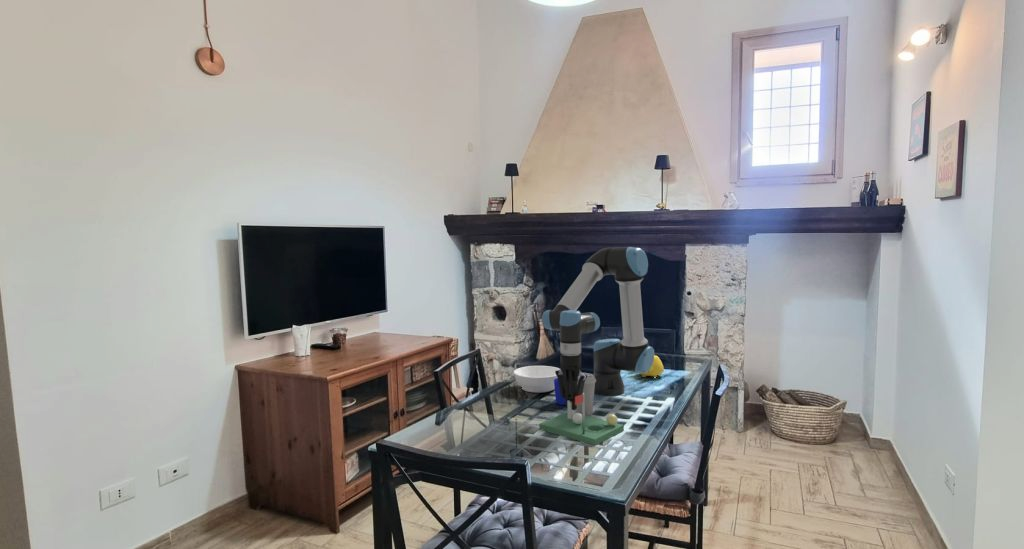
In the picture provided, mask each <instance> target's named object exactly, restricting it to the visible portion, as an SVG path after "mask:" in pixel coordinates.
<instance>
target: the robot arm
mask: <svg viewBox="0 0 1024 549" xmlns="http://www.w3.org/2000/svg"><path fill="white" fill-rule="evenodd" d="M648 268H649V261H648V256H647V253H645V251H644V250H643V249H642V248H640V247H634V246H628V247H626V246H624V247H623V246H622V247H621V246H620V247H619V246H618V247H611V246H610V247H609V246H608V247H606V248H605V247H604V248H602V249H600V250H598V251H596V252H595V253H593V254H592V255H591V256H590V257H589V258H588V259H586V260H585V262H584V264H582V268H581V272H580V273H579V274H578V276H577V277H576V279H575V280H574V281H573V283H572V284H571V285H570V287H569V288H568V289H567V291H566V292H565V293H564V295H563V296H562V298H561V299H560V301H559V302H558V303H557V304H556V305H555V307H554V308H553V309H547V310H545V311H544V312H543V313H542V316H541V323H542V326H543V327H544V329H547V330H551V331H557V332H558V331H559V334H560V335H559V338H560V342H559V346H560V348H559V349H560V360H559V361H560V368H559V369H560V370H557V371H555V373H556V375H557V377H558V383H559V388H560V393H561V397H562V398H563V397H564V398H565V400H566V405H565V408H566V409H567V412H568V419H572V417H573V415H574V414H575V413H576V409H577V405H575V397H576V396H578V395H581V394H582V393H583V388H584V383H585V380H586V378H587V375H584V374H583V373H584V372H583V371H582V367H581V365H582V355H581V353H582V335H587V334H591V333H593V332H596V331H597V330H598V329H599V328H600V326H601V321H600V320H601V319H600V316H598V314H596V313H595V312H593V311H592V312H591V311H590V312H589V311H587V312H581V311H580V310H578V309H579V307H580V306H581V305H582V303H583V302H584V300H585V299H586V297H587V296H588V295H589V293H590V291H591V290H592V289H593V287H594V286H595V284H596V283H597V282H599V281H601V280H602V279H603V278H604V276H609V275H611V276H614V280H615V282H616V283H617V284H618V285H619V288H618V289H619V298H620V312H621V324H622V325H621V327H622V336H623V338H622V339H619V338H606V339H599V340H597V341H595V342H594V345H593V375H594V377H595V379H596V382H595V388H594V395H595V394H596V395H599V396H600V395H601V396H618V395H622V394H624V393H625V389H626V388H625V384H624V381H623V378H622V375H621V371H624V372H625V371H626V372H630V373H636V374H639V373H646V372H648V371H649V370H650V368H651V367H652V364H653V361H654V355H655V349H654V348H653V346H650V345H649V340H648V339H647V338H646V337H645V332H644V321H643V320H644V319H643V306H642V294H641V290H642V289H641V282H642V281H643V280H644V276H645V275H647V273H648ZM578 377H579V381H578ZM577 382H578V385H577Z"/></svg>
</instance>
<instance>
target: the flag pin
mask: <svg viewBox="0 0 1024 549" xmlns="http://www.w3.org/2000/svg"><path fill="white" fill-rule="evenodd" d="M580 403H582V434H585V401H584V393H582V394H581V395H578V396H576V397H575V405H577V404H580Z"/></svg>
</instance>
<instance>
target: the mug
mask: <svg viewBox="0 0 1024 549" xmlns="http://www.w3.org/2000/svg"><path fill="white" fill-rule="evenodd" d="M554 387H555V389H554V395H555V403H556V404H557V405H560V406H566V400H565V398H564V397H563V398H562V397H561V393H560V388H559V383H558V378H556V379H554Z"/></svg>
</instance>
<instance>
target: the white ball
mask: <svg viewBox="0 0 1024 549" xmlns="http://www.w3.org/2000/svg"><path fill="white" fill-rule="evenodd" d="M572 420H573V422H574V423H575V424H581V423H582V414H580V413H576V412H575V414H574V415H573V417H572Z"/></svg>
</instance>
